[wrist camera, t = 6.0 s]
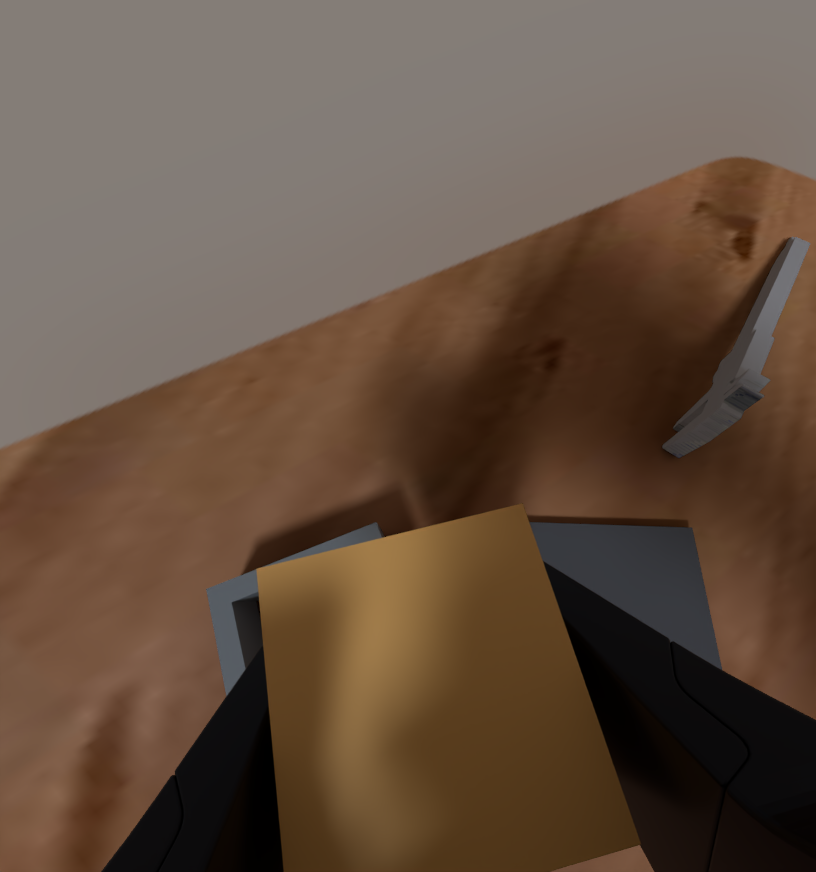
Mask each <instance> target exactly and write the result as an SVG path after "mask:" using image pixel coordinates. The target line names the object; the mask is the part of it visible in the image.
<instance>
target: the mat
mask: <svg viewBox="0 0 816 872" xmlns="http://www.w3.org/2000/svg"><path fill="white" fill-rule="evenodd" d="M529 523H530V526H531V529H532V532H533V534H534V537H535V540H536V543H537V546H538V549H539V552H540V555H541V557H542V560H543V561H544V562H546V563H548V564H549V565H551V566H552V567H554V568H556V569H557V570H559V571H561V572H562V573H564V574H565V575H567V576H569V577H570V578H572V579H573V580H575V581H577V582H578V583H580V584H582V585H583V586H585V587H586V588H588V589H590V590H591V591H593V592H595V593H596V594H598V595H599V596H601V597H603V598H604V599H606V600H608V601H609V602H611V603H612V604H614V605H616V606H617V607H619V608H621V609H622V610H624V611H625V612H627V613H629V614H630V615H632V616H633V617H635V618H637V619H638V620H640V621H642V622H643V623H645V624H646V625H648V626H650V627H651V628H653V629H655V630H656V631H658V632H659V633H661V634H663V635H664V636H666V637H668V638H669V639H670V643H671V642H672V641H674V642H676V643H678V644H679V645H681V646H682V647H684V648H686V649H687V650H689V651H691V652H692V653H694V654H695V655H697V656H699V657H701V658H702V659H704V660H706V661H707V662H709V663H711V664H712V665H714V666H716V667H717V668H719V669H721V670H722V667H721V662H720V657H719V653H718V648H717V643H716V638H715V634H714V629H713V624H712V620H711V615H710V610H709V605H708V601H707V596H706V591H705V586H704V582H703V577H702V572H701V567H700V563H699V558H698V553H697V548H696V544H695V539H694V534H693V530H692V528H687V527H657V526H627V525H597V524H567V523H537V522H529Z"/></svg>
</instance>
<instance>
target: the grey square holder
mask: <svg viewBox="0 0 816 872" xmlns="http://www.w3.org/2000/svg"><path fill="white" fill-rule="evenodd" d="M383 537H384V535H383V532H382V530H381V529H380V527H379V525H378V524H377V522H375V523H373V524H370V525H368V526H365V527H363V528H360V529H357V530H355V531H352V532H350V533H347V534H345V535H342V536H340V537H337V538H335V539H332V540H330V541H327V542H325V543H322V544H319V545H317V546H314V547H312V548H309V549H307V550H304V551H302V552H299V553H297V554H294V555H292V556H289V557H287V558H284V559H281V560H279V561H276V562H274V563H271V564H269V565H266V566H270V565H274V564H278V563H282V562H286V561H290V560H294V559H298V558H302V557H306V556H310V555H314V554H318V553H322V552H327V551H331V550H335V549H339V548H343V547H347V546H351V545H355V544H359V543H363V542H367V541H371V540H375V539H379V538H383ZM266 566H264V567H266ZM261 568H262V567H261ZM206 590H207V595H208V600H209V606H210V611H211V616H212V622H213V627H214V632H215V638H216V643H217V648H218V654H219V659H220V664H221V670H222V675H223V680H224V685H225V691H226V696H227V695H228V693H229V692H230V691H231V689H232V688H233V686H234V685H235V683H236V682H237V680H238V679H239V678H240V676H241V675H242V673H243V672H244V670H245V669H246V668H247V666H248V665H249V663H250V662H251V660H252V659H253V657H254V656H255V655H256V653H257V652H258V650H259V649H260V647H261V646H262V644H263V637H262V626H261V620H260V615H259V611H258V607H257V602H256V601H259V593H258V582H257V571H256V570H254V571H251V572H248V573H246V574H243V575H241V576H238V577H236V578H233V579H231V580H228V581H226V582H223V583H221V584H218V585H216V586H213V587H210V588H208V589H206Z"/></svg>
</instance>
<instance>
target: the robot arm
mask: <svg viewBox="0 0 816 872" xmlns="http://www.w3.org/2000/svg"><path fill="white" fill-rule="evenodd" d="M543 563H544V566H545V569H546V572H547V575H548V578H549V580H550V583H551V586H552V589H553V592H554V595H555V598H556V601H557V603H558V606H559V609H560V612H561V615H562V618H563V621H564V624H565V627H566V629H567V632H568V635H569V638H570V641H571V644H572V647H573V650H574V652H575V655H576V658H577V661H578V664H579V667H580V670H581V673H582V675H583V678H584V681H585V684H586V687H587V690H588V693H589V696H590V698H591V701H592V704H593V707H594V710H595V713H596V716H597V719H598V722H599V724H600V727H601V730H602V733H603V736H604V739H605V742H606V745H607V747H608V750H609V753H610V756H611V759H612V762H613V765H614V768H615V770H616V773H617V776H618V779H619V782H620V785H621V788H622V791H623V793H624V796H625V799H626V802H627V805H628V808H629V811H630V814H631V817H632V819H633V822H634V825H635V828H636V831H637V834H638V837H639V840H640V842H641V845H640V846H641V848H642V850H643V851H644V853H645V855H646V857H647V859H648V861H649V863H650V864H651V866H652V868H653V870H654V872H816V720H815V719H813V718H811V717H809V716H807V715H805V714H803V713H801V712H799V711H797V710H795V709H794V708H792V707H790V706H788V705H786V704H784V703H782V702H780V701H778V700H776V699H774V698H772V697H770V696H769V695H767V694H765V693H763V692H761V691H759V690H757V689H755V688H754V687H752V686H750V685H748V684H746V683H744V682H743V681H741V680H739V679H737V678H735V677H733V676H731V675H730V674H728V673H726V672H724V671H723V670H721V669H719V668H717V667H716V666H714V665H712V664H711V663H709V662H707V661H706V660H704V659H702V658H701V657H699V656H697V655H695V654H694V653H692V652H691V651H689V650H687V649H686V648H684V647H682V646H681V645H679V644H678V643H676V642H674V641H672V642H671V643H670V639H669V638H668V637H666V636H664V635H663V634H661V633H659V632H658V631H656V630H655V629H653V628H651V627H650V626H648V625H646V624H645V623H643V622H642V621H640V620H638V619H637V618H635V617H633V616H632V615H630V614H629V613H627V612H625V611H624V610H622V609H621V608H619V607H617V606H616V605H614V604H612V603H611V602H609V601H608V600H606V599H604V598H603V597H601V596H599V595H598V594H596V593H595V592H593V591H591V590H590V589H588V588H586V587H585V586H583V585H582V584H580V583H578V582H577V581H575V580H573V579H572V578H570V577H569V576H567V575H565V574H564V573H562V572H561V571H559V570H557V569H556V568H554V567H552V566H551V565H549V564H548V563H546V562H544V561H543ZM101 872H284V868H283V857H282V846H281V835H280V824H279V813H278V802H277V791H276V780H275V769H274V758H273V747H272V736H271V725H270V714H269V703H268V692H267V681H266V670H265V659H264V648H263V644H262V646H261V647H260V649H259V650H258V652H257V653H256V655H255V656H254V657H253V659H252V660H251V662H250V663H249V665H248V666H247V668H246V669H245V670H244V672H243V673H242V675H241V676H240V678H239V679H238V680H237V682H236V683H235V685H234V686H233V688H232V689H231V691H230V692H229V693H228V695H227V696H226V698H225V699H224V701H223V702H222V704H221V705H220V706H219V708H218V709H217V711H216V712H215V714H214V715H213V717H212V718H211V719H210V721H209V722H208V724H207V725H206V727H205V728H204V730H203V731H202V732H201V734H200V735H199V737H198V738H197V740H196V741H195V742H194V744H193V745H192V747H191V748H190V750H189V751H188V753H187V754H186V755H185V757H184V758H183V760H182V761H181V763H180V764H179V766H178V767H177V768H176V770H175V775H172V776H171V777H170V778H169V780H168V781H167V783H166V784H165V785H164V787H163V788H162V790H161V791H160V793H159V794H158V796H157V797H156V798H155V800H154V801H153V803H152V804H151V805H150V807H149V808H148V810H147V811H146V812H145V814H144V815H143V817H142V818H141V819H140V821H139V822H138V824H137V825H136V826H135V828H134V829H133V830H132V832H131V833H130V835H129V836H128V837H127V839H126V840H125V841H124V843H123V844H122V845H121V847H120V848H119V849H118V850H117V852H116V853H115V854H114V856H113V857H112V858H111V860H110V861H109V862H108V864H107V865H106V866H105V867H104V869H103V870H102V871H101Z"/></svg>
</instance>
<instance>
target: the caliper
mask: <svg viewBox="0 0 816 872" xmlns="http://www.w3.org/2000/svg"><path fill="white" fill-rule="evenodd" d="M809 245H810V243H809V242H806V241H804V240H802V239H800V238H797V237H795V238H794V237H791V238H790V239H789V240H788V242H787V243H786V246H785V248H784V249H783V250H782V251H781V253H780V255H779V256H778V258H777V259H776V261H775V263H774V264H773V266H772V268H771V270H770V273H769V275H768V277H767V279H766V281H765V283H764V285H763V287H762V289H761V291H760V293H759V296H758V298H757V300H756V302H755V304H754V306H753V308H752V310H751V312H750V314H749V316H748V318H747V320H746V322H745V324H744V326H743V328H742V331H741V333H740V335H739V337H738V339H737V341H736V343H735V345H734V347H733V349H732V351H731V352H730V353H729V354H728V355H727V356H726V357H725V358H724V359H723V360H722V361H721V362H720V364H719V368H718V370H717V371H716V373H715V375H714V376H713V385H712V387H711V389H710V390H709V391H708V392H707V393H706V394H705V395H704V396H703V397H702V398H701V399H700V400H699V401H698V402H697V403H696V404H695V405H694V406H693V407H692V408H691V409H690V410H689V411H688V412H687V413H686V414H685V415H684V416H683V417H682V418H681V419H679V420H678V421H677V423H676V424H675V426H674V427H673V429H674V430H676V431H678V433H677V434H676V435H674V436H673V437H672V438H671V439H669V440H668V441H667V442H666V443H664V444H663V446H662V448H663V449H665V450H666V451H668V452H669V453H671V454H673V455H674V456H676V457H678V458H680V457H682V456H684V455H686V454H688V453H690V452H691V451H693V450H695V449H697V448H699V447H700V446H702V445H704V444H706V443H708V442H710V441H711V440H712V439H714V438H715V437H716V436H718V435H719V434H720V433H722V432H723V431H725V430H726V429H727V428H729V427H730V426H731V425H733V424H734V423H735V422H737V421H738V420H739V419H741V417H742V415H743V413H744V411H745V410H746V409H747V408H749V407H750V406H751V405H753V404H754V403H756V402H757V401H758V400H760V399H761V398H762V397H764V395H763V394H761V393H759V391H760V390H761V389H762V388H763V387H764V386H765V385H766V384H767V383H768V382H769V381H770V379H768V378H766V377H764V376H762V375H760V374H761V371H762V369H763V366H764V364H765V361H766V359H767V356H768V354H769V351H770V349H771V346H772V344H773V341H774V339H775V338H773V337H771V336H772V333H773V331H774V329H775V326H776V324H777V321H778V319H779V317H780V314H781V312H782V310H783V307H784V305H785V303H786V300H787V298H788V295H789V293H790V291H791V288H792V286H793V284H794V281H795V279H796V277H797V274H798V272H799V269H800V267H801V265H802V262H803V260H804V257H805V255H806V253H807V250H808V248H809Z"/></svg>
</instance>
